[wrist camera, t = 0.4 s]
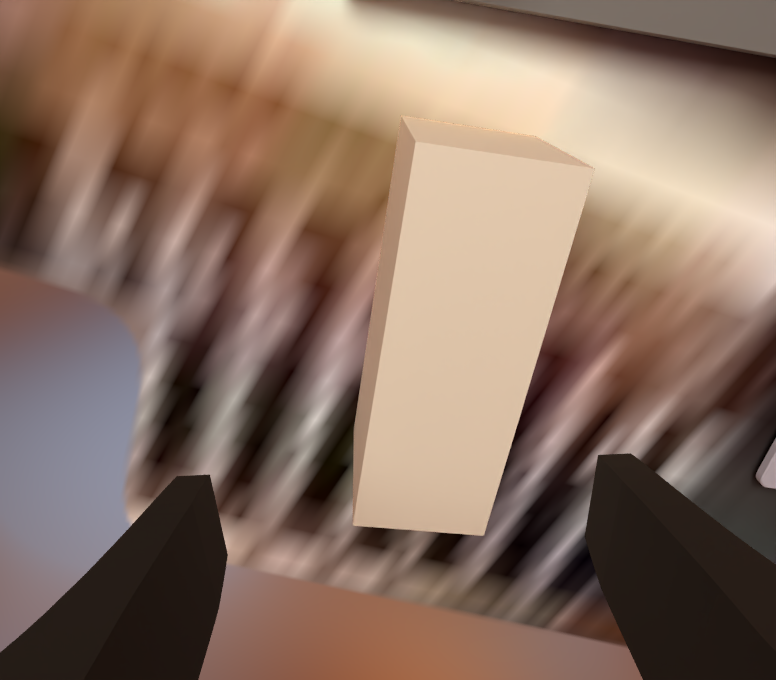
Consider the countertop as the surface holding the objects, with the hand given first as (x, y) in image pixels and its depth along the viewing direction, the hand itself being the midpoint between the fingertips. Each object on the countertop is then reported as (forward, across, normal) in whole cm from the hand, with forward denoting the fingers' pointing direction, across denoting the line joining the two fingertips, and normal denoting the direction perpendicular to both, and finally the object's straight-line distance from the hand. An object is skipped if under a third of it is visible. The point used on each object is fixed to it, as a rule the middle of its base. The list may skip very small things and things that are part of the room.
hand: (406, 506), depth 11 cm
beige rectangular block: (+10, -2, 0) cm, 10 cm away
